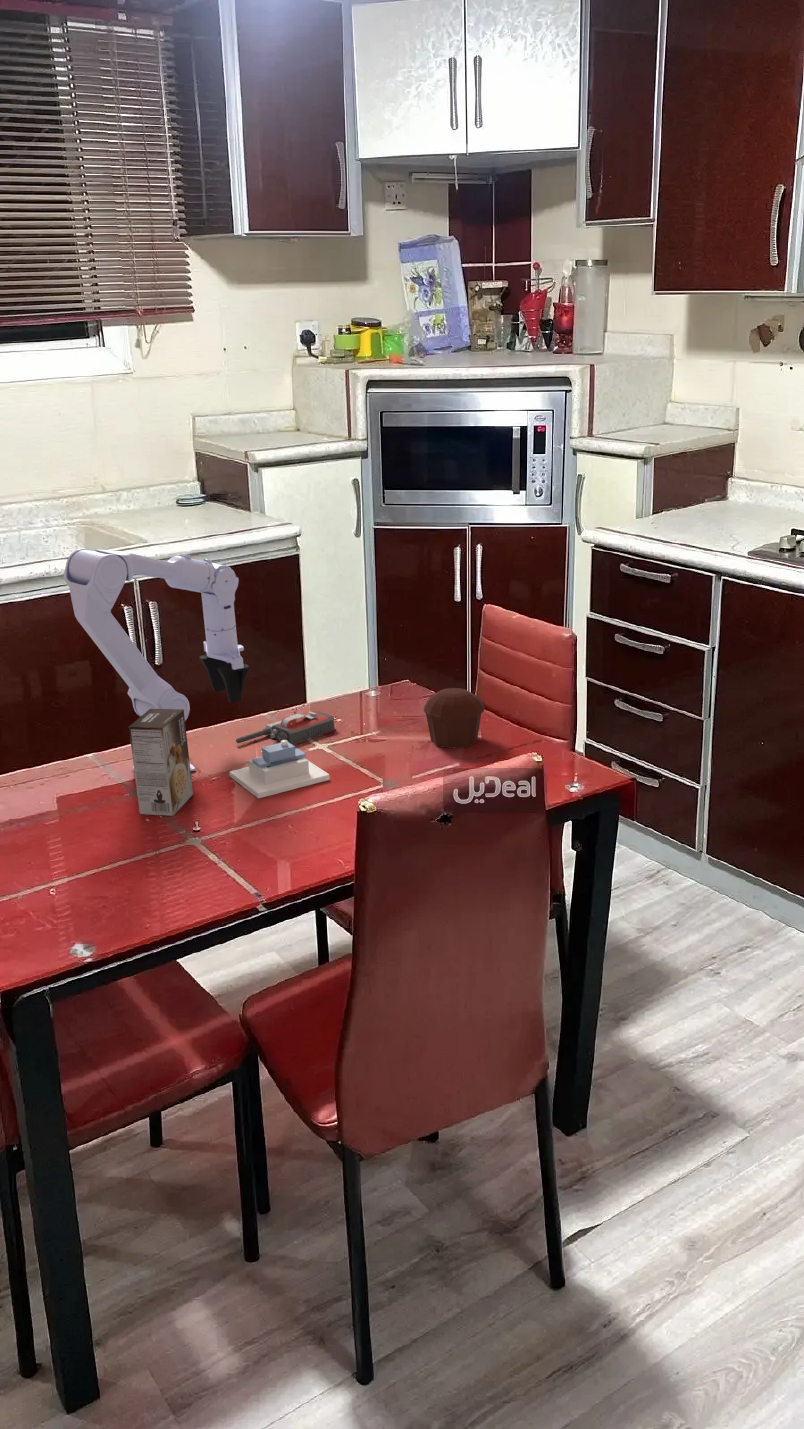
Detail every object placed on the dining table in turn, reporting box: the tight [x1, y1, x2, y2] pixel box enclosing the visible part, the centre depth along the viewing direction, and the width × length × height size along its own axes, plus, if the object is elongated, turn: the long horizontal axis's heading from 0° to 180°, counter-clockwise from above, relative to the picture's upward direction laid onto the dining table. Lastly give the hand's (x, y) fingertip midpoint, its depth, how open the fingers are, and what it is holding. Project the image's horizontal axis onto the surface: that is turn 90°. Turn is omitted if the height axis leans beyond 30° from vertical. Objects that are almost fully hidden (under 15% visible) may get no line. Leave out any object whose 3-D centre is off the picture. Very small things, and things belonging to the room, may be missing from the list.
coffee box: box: [128, 709, 194, 817], centre depth 197 cm, size 9×6×16 cm
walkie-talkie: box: [235, 710, 335, 746], centre depth 228 cm, size 9×4×20 cm
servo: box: [251, 740, 307, 768], centre depth 207 cm, size 9×3×6 cm, turn 122°
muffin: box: [423, 687, 485, 749], centre depth 222 cm, size 12×11×10 cm
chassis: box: [229, 755, 331, 799], centre depth 208 cm, size 14×12×4 cm
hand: (227, 695), depth 221 cm, fingers open, 7 cm apart
